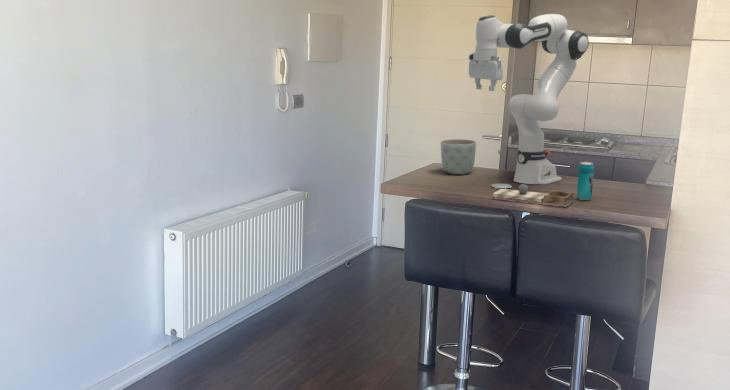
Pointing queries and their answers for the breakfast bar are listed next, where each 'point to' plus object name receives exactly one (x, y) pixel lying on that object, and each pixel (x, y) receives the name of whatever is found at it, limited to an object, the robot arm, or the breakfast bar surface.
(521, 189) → the ball
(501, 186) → the coaster
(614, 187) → the breakfast bar surface
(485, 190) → the breakfast bar surface
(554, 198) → the brown square tray
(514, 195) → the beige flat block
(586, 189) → the beverage can
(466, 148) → the planter
